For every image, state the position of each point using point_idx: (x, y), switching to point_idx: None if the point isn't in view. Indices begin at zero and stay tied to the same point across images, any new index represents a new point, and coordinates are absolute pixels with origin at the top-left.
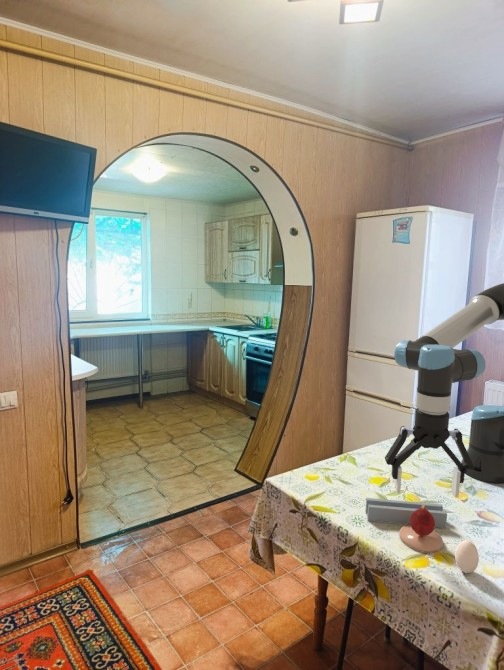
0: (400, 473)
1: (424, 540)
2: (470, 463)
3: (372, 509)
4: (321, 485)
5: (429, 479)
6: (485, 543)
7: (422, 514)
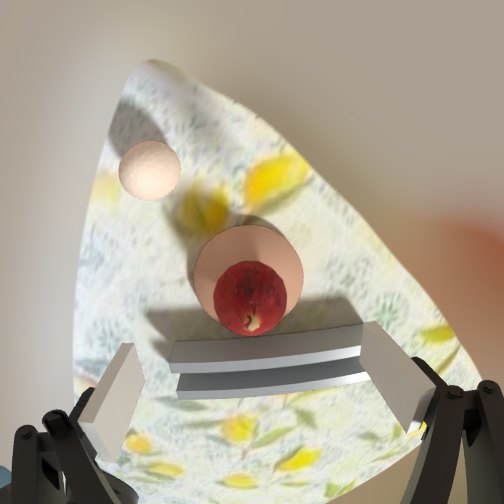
0: (413, 372)
1: None
2: (21, 450)
3: None
4: None
5: (193, 478)
6: (97, 297)
7: (258, 295)
